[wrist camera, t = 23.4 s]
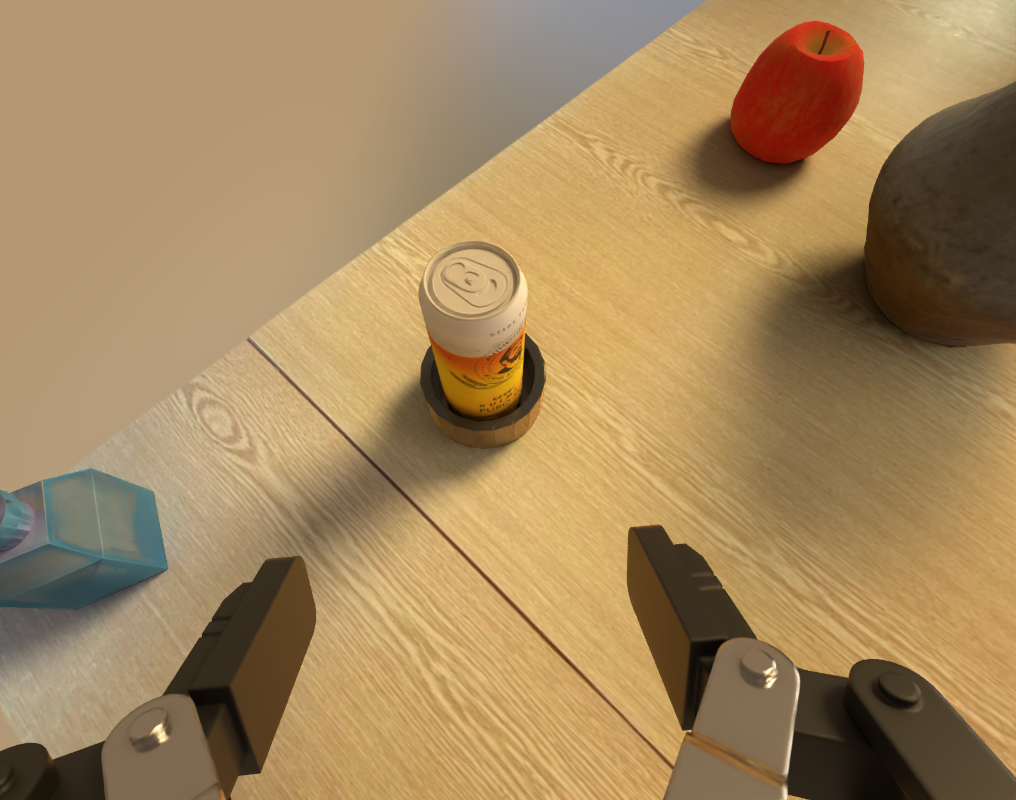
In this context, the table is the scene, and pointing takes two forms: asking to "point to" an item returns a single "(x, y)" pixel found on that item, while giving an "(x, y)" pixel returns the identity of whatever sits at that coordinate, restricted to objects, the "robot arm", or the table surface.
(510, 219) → the table surface
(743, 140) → the apple
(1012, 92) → the pitcher
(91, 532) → the perfume bottle
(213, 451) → the table surface
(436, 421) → the round brown bowl
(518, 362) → the beer can
